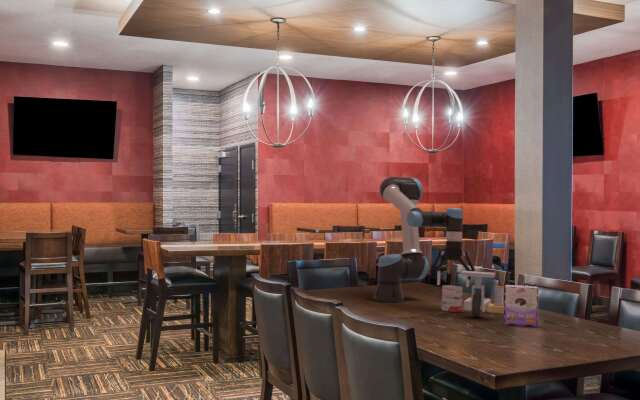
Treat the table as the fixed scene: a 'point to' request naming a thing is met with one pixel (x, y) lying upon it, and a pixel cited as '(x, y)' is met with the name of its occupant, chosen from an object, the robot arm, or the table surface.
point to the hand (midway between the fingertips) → (452, 285)
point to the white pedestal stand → (477, 300)
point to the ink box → (451, 298)
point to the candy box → (521, 305)
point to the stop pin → (499, 295)
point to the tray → (468, 304)
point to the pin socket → (495, 309)
